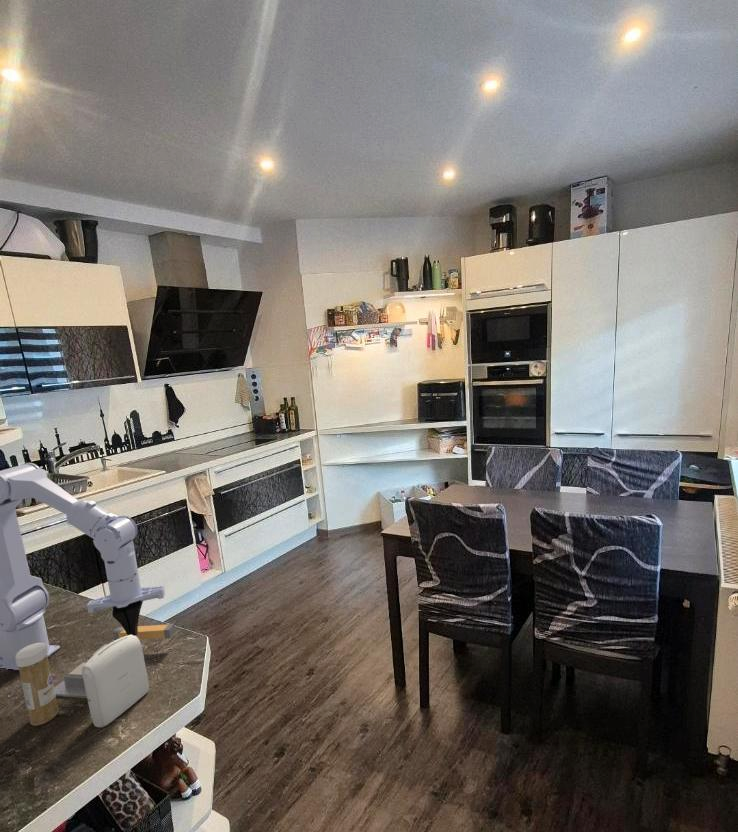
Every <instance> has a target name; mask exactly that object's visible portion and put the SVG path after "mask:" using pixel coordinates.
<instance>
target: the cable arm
mask: <svg viewBox="0 0 738 832" xmlns="http://www.w3.org/2000/svg"><path fill="white" fill-rule="evenodd" d="M175 633H176V626H175V623H173V622H172V623H168V624H156V625H155V624H153V625H138V633H137V635H136V637H137V638H138V639H139V641H140V640H151V639H152V640H153V639H171V638H172V637H173V636H174V635H175ZM112 636H113V641H115V640H117V639H119V638H122V637H124V636H128V635H127V633H126V631H125V630H124V628H123V627H122V626H119V627H116V628H114V629H113V630H112Z"/></svg>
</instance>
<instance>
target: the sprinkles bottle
mask: <svg viewBox="0 0 738 832" xmlns="http://www.w3.org/2000/svg"><path fill="white" fill-rule="evenodd" d="M47 654H48V651H47V646H46V644H45V643H35V644H32V645H29V646H27V647H25V648H23V649H21V650H20V651H19V652H18V653H17V654H16V656H15V658H16V664H17V666H18V668H19V670H18V671H19V675H20V679H21V680H20V682H21V686H22V692H23V696H24V701H25V706H26V708H27V712H28V717H29V724H30V725H31V726H36V727H37V726H40V725H44V724H46V723H48V722H50V721H51V720H53V719H54V718H56V716H57V715H58V714H59V711H60V707H59V705H58V701H57V696H55V695H56V693H55V684H54V681H53V680H54V679H53V675H52V671H51V668H50V663H49V658H48V657H49V656H48V655H47ZM47 656H48V657H47Z"/></svg>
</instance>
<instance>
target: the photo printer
mask: <svg viewBox="0 0 738 832" xmlns="http://www.w3.org/2000/svg"><path fill="white" fill-rule="evenodd" d="M109 643H110V644H108V645H107V646H105V647H104V648H102V649H101V650H100V651H98V652H97V653H96V654H95V655H94V656H92V657H91V658H90V659H89V660H88V659H87V660H86V661H87V663H86V664H85V665H84V666H83V668H82V676H83V680H84V685H85V690H86V694H87V698H86V699H87V704H88V707H89V713H90V718H91V721H92V723H93V725H94V727H96V728H104V727H106V726H108V725H109V724H110V723H112V722H113V721H114V720H116V719H117V718H118V717H119V716H121V715H122V714H123V713H125V712H126V711H127V710H128V709H129V708H131V707H132V706H133V705H135V704H136V703H137V702H138V701H139V700H140V699H142V698H143V697H144V696H145V695H146V694H148V692H149V691H150V684H149V677H148V674H147V673H148V672H147V669H146V668H147V667H146V662H145V657H144V651H143V649H142V646H141V645H142V644H141V641H140V640H139V639H138V638H137V637H136V636H133V635H128V636H124V637H122V638H119V639H117V640H115V641H114V640H113V641H112V642H109Z"/></svg>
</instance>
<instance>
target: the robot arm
mask: <svg viewBox="0 0 738 832" xmlns="http://www.w3.org/2000/svg"><path fill="white" fill-rule="evenodd" d="M26 499H27V500H28V499H35V500H37V501H38V502H41V503H43V504H45V505H47V506H49V507H51V508H53V509H55V510H57V511H58V512H60V513H62V514H64V515H65V517H66V521H67V524H69V525H70V526H72V527H73V528H75V529H77V530H79V531H80V532H81V533H83V534H86V535H87V536H88V537H90V538H92V539H93V540H92V542H93V545H94V547H95V548H96V549H97V550H98V551H99V553H100V557H101V559H102V560H103V562H104V567H105V574H106V578H107V583H108V589H109V594H108V595H105V596H102V597H100V598H99V597H98V598H95V599H92V600H89V602H88V603H87V605H86V608H87V613H88V614H93V613H95V612H97V611H102V610H106V609H111V608H112V613H111V615H112V618H114V619H115V620H116V621H117V622H118V623H119V624H120V625H121V627H123V628H124V630H125V631H126V633H127V635H133V636H136V635H137V633H138V626H139V618H140V613H141V609H142V606H143V603H144V601H149V600H155V599H158V600H161V599H164V598H165V595H166V592H165V591H166V590H165V586H164V585H161V586H160V585H159V586H149V587H147V586H146V587H141V583H140V582H141V581H140V575H139V570H138V563H137V556H136V551H135V545H134V539H135V538H136V537H137V534H138V526H137V524H136V522H135V521H134V520H133V519H132V518H131V517H130V516H129V515H118V514H113V513H111V512H110V511H107V510H106V509H105V508H104V507H101V506H100V505H97V502H95V501H94V500H93V499H91V500H89V499H83V500H79V499H77V498H76V497H74V496H73V495H71V494H70V493H69V492H68V491H66V490H65V489H64V488H62V487H61V486H59V485H58V484H57V483H55V482H54V481H53V480H51V479H49V478H48V474H47V472H46V470H45V469H43V468H41V467H40V466H38V465H37V464H36V463H33V462H25V463H22V464H20V465H16V466H13V467H12V466H11V467H9V468H5V469H2V470H0V665H3V666H1V667H0V668H6V669H5V670H8V669H13V670H12V671H19V668H18V666H17V664H16V658H15V656H16V654H17V653H18V652H19V651H20V650H21V649H23V648H25V647H27V646H29V645H32V644H35V643H45V644H46V646H47V651H48V654H47V655H48V656H47V658H48V657H50V656H51V655H52V654H54V653H55V652H57V651H58V650H60V648H61V647H60V645H53V644H52V645H51V644H50V642H49V637H48V631H47V628H46V623H45V622H46V621H45V618H44V614H45V613H46V607H47V606H48V605H49V604H50V603H49V602H50V594H49V592H48V590H47V589H46V588H45V585H44V584H43V580H42V578H41V577H38V576H35V575H34V576H33V575H31V572H30V567H29V563H28V558H27V554H26V550H25V546H24V545H25V544H24V541H23V537H22V533H21V528H20V524H19V519H18V516H17V515H18V514H17V511H16V508H17V507H18V506H19V504H20V503H21V502H22V501H24V500H26Z"/></svg>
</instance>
